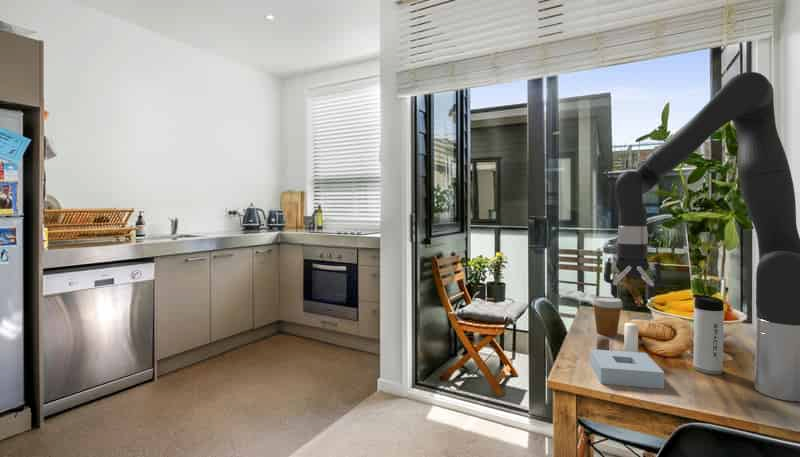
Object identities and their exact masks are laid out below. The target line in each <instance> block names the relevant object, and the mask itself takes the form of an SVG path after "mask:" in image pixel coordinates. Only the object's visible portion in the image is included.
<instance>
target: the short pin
mask: <svg viewBox="0 0 800 457" xmlns="http://www.w3.org/2000/svg"><path fill="white" fill-rule="evenodd" d="M596 350H610V338H609V337H606V336H596Z"/></svg>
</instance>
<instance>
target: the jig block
mask: <svg viewBox="0 0 800 457" xmlns="http://www.w3.org/2000/svg"><path fill="white" fill-rule="evenodd" d="M589 363H590V365H591V368H592V370H593V371H594V374H595V375H596V378H597V379H598V380H599V383H600V384H602V385H613V386H625V387H626V386H628V387H638V388H650V389H651V388H652V389H660V390H661V389H662V390H665V371H664V370H663V369H662V368H661V367H660V366H659V364H657V363H656V362H655V361H654V360H653V359H652V358H651V357H650V356H649V355H648V354H647V352H641V351H640V352H639V351H638V352H626V351H624V350H622V351H621V350H610V349H609V350H597V349H594V348H593V349H592V348H590V349H589Z"/></svg>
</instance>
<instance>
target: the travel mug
mask: <svg viewBox="0 0 800 457" xmlns="http://www.w3.org/2000/svg"><path fill="white" fill-rule="evenodd" d="M692 298H694V311H693V312H694V315H693V364H692V365H693V370H695V371H697V372H699V373H702V374H706V375H712V376H713V375H714V376H718V375H722V373H723V371H724V370H723V367H724V365H723V364H724V361H723V360H724V328H725V327H724V323H725V322H724V321H725V318H724V317H725V314H724V312H725V309H724V308H725V307H724V306H725V305H724V304H725V303H724V300H723V299H722V298H718V297H714V296H710V295H703V294H699V293H695V294H693V295H692Z"/></svg>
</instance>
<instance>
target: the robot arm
mask: <svg viewBox="0 0 800 457" xmlns="http://www.w3.org/2000/svg"><path fill="white" fill-rule="evenodd" d="M774 98H775V97H774V87H773V84H772V83H771V82H770V81H769V79H768V78H767V77H766V76H765V75H764V74H761V73H760V72H757V71H756V72H755V71H749V72H748V71H747V72H741V73H739V74H737V75H735V76H732V77H731V78H730V79H729V80H728V81H727V82H726V83H725V84H724V85H723V86H722V87H721V88H720V89H719V90H718V91H717V92H716V93H715V94H714V96H712V98H711V99H710V100H708V102H707V103H706V105H704V106H703V107H702V108H701V109H700V110H699V111H698V112H697V113H696V114H695V115H694V116H693V117H692V118H691V119H690V120H689V121H688V122H686V123H685V124H684V125H683V126H682V127H681V128H680V129H678V130H677V131H675V133H673V134H672V135H671V136H670V137H668V138H667V139H666V140H665V141H663V142H662V143H661V144H660V145H658V146H657V147H656V148H655V149H653V151H651V152H650V153H649V154H648V155H647V156H646V157H645V159H644V162H643V163H642V164H641V165H640V166H639V167H638V168H637V169H635V170H627V171H624V172H622V173H620V174H619V176H618V177H617V178H616V181H615V186H614V187H615V189H614V191H615V198H616V204H617V208H618V230H617V237H616V241H617V246H616V247H617V248H616V249H617V251H616V252H617V253H616V257H617V259H616V261H615V262H614V261H612V262H611V261H608V260H607V261H605V262H604V272H603V281H604V282H606V283H607V284H610V294H611V297H614V298H618V294H619V293H618V290H619V289H618V288H619V286H618V283H619V282H620V281H621V280H623V279H624V278H625V277H626V278H636V279H639V278H641V279H642V280H643V281H644V282H645V283H646V285H645V299H646V300H652V298H653V296H654V286H657V285H660V284H662V270H661V269H662V268H661V264H660V263H659V262H658V261H654V262H649V261H648V244H649V243H648V242H649V238H648V237H649V235H648V233H649V232H648V227H647V226H648V225H647V224H648V212H647V211H648V210H647V208H646V206H645V205H644V202H643V201H644V200H643V195H645V194H646V193H648V192H649V191H650V190H651V189H653V188H654V187H655V186H657V184H658V183H659V182H660V181H661V180H662V179H663V178H664V177H665V176H666V175H667V174H669V173H670V172H672V171H674V169H676V168H677V167H678V166H680V165H681V164H682V163H683V162H685V161H686V160H687V159H688V158H690V157H691V156H692V155H693V154H694V153H695V152H696V151H697V150H698V149H699V148H700V147H701V146H702V145H703V144H704V143H705V141H707V140H708V139H709V138H710V137H711V136H713V134H715V133H716V132H717V131H718V130H719V129H721V128H722V127H723V126H725V125H726V124H728V123H729V122H732V123H733V126H734V129H735V133H736V138H737V175H738V181H739V186H740V191H741V195H742V199H743V202H744V205H745V207H746V211H747V213H748V215H749V217H750V220H751V223H752V224H753V226H754V229H755V233H756V239H757V245H758V246H757V247H758V263H757V266H756V273H755V274H756V275H755V278H756V279H755V308H756V309H755V310H756V311H755V312H756V314H755V317H756V320H755V354H754V355H755V361H754V389H755V390H756V391H757V392H759V393H760V394H762V395H765V396H768V397H771V398H773V399H778V400H781V401H788V402H795V401H797V402H799V403H800V234H799V231H798V226H797V208H796V207H797V204H796V203H797V202H796V196H795V194H796V193H795V192H796V191H795V186H794V181H793V176H792V173H791V168H790V165H789V161H788V157H787V155H786V151H785V149H784V146H783V143H782V140H781V138H780V136H779V134H778V130H777V124H776V114H775V101H774V100H775V99H774ZM615 267H616V269H617V270H618V271H616V273H615V274H614V276H613V277H612V278H611V274H612V273H611V272H612V270H614V268H615ZM649 268H650V270H651V271H652V272H653V273H652V275H653V278H652V279H651V277H650V276H649V274H648V273H646V271H647V270H648V269H649Z"/></svg>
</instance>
